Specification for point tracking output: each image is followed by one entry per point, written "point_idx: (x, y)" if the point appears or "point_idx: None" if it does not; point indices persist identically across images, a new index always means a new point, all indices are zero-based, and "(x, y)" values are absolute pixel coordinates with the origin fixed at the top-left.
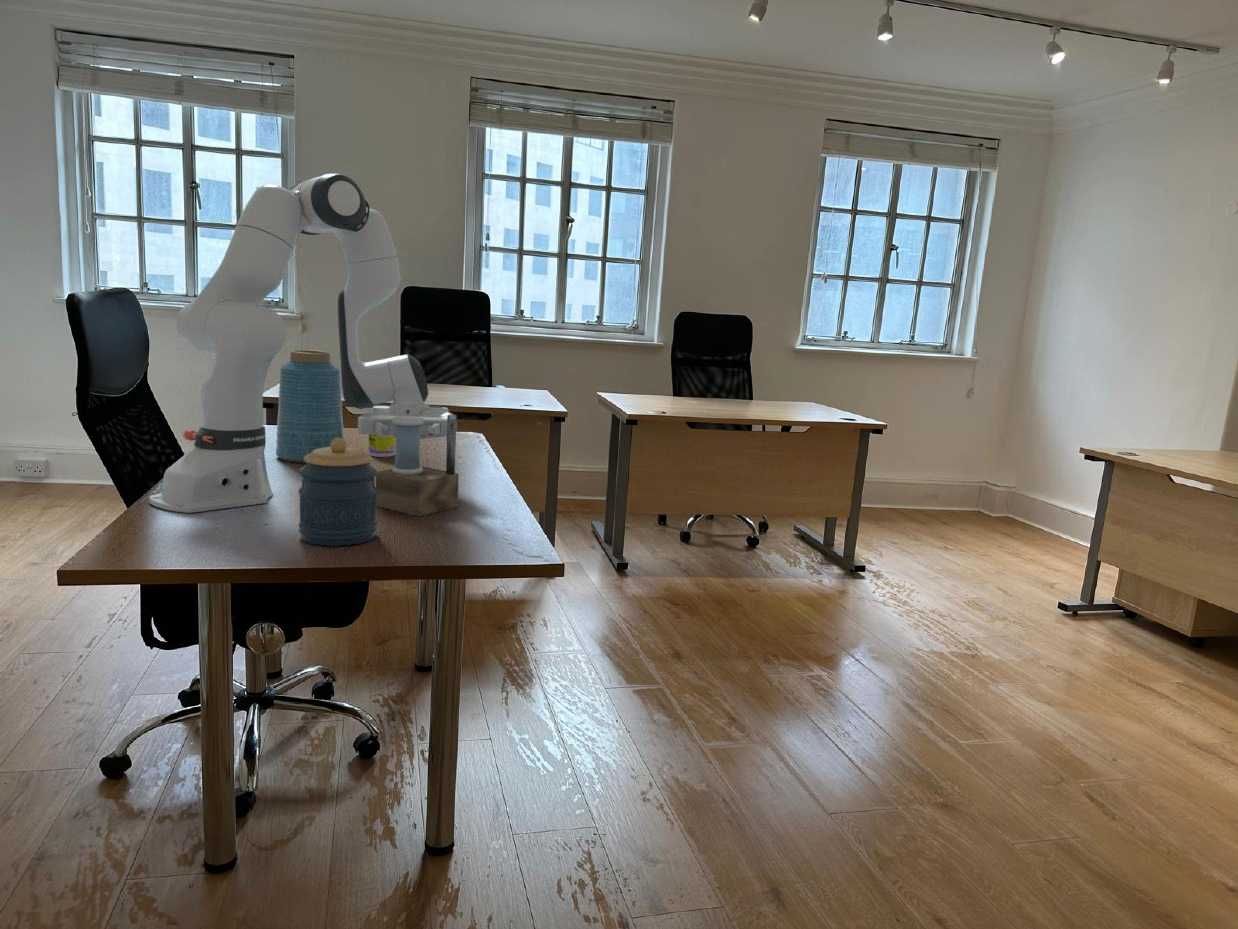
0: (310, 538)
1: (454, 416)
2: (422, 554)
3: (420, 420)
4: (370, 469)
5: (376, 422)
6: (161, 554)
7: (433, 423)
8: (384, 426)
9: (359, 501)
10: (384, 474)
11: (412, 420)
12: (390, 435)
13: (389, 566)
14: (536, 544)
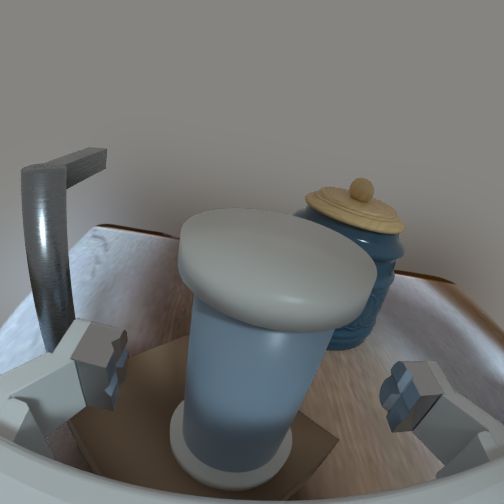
0: None
1: (53, 160)
2: None
3: (208, 212)
4: (302, 210)
5: (497, 424)
6: (440, 298)
7: (22, 419)
8: (414, 361)
9: None
10: (306, 417)
11: (252, 210)
12: None
13: None
14: (71, 255)
